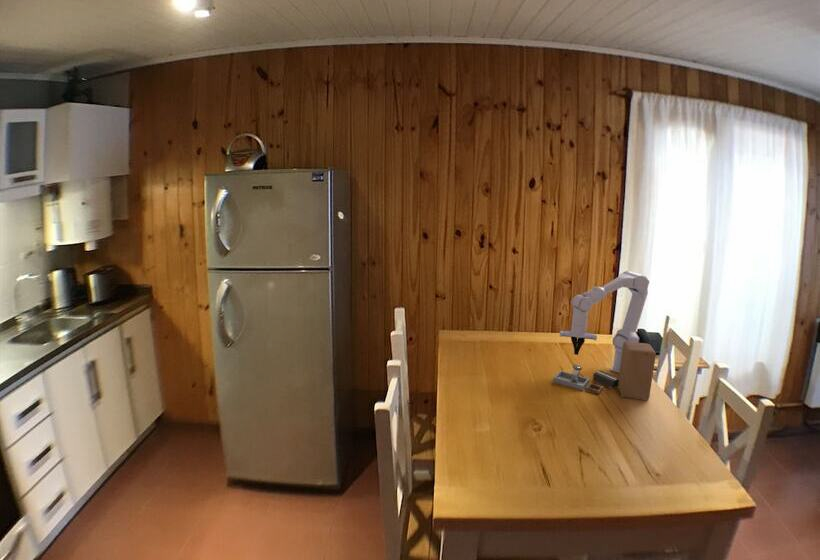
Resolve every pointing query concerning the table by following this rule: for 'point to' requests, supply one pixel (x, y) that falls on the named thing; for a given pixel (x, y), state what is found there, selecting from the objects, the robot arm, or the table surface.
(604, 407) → the table surface
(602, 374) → the block
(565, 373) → the tray
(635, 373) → the wooden block
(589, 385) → the collar
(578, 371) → the pin
